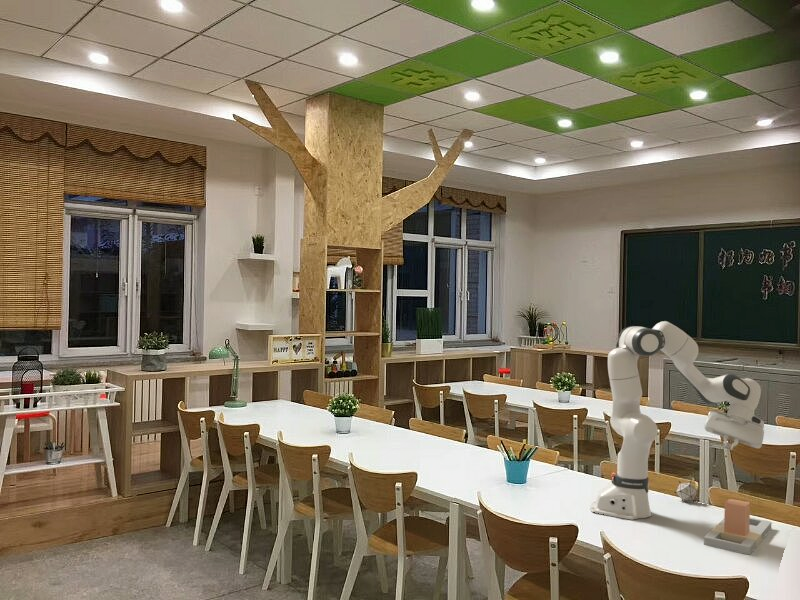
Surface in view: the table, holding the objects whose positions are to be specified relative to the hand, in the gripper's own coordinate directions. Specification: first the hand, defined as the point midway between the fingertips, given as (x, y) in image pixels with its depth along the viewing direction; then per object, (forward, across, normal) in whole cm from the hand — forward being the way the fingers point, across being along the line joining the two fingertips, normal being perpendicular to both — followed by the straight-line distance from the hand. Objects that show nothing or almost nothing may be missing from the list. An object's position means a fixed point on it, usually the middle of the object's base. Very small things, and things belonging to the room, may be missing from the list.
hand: (727, 448), depth 253 cm
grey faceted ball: (+14, -10, +32) cm, 36 cm away
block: (+30, +12, -3) cm, 32 cm away
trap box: (+30, +12, +1) cm, 32 cm away
